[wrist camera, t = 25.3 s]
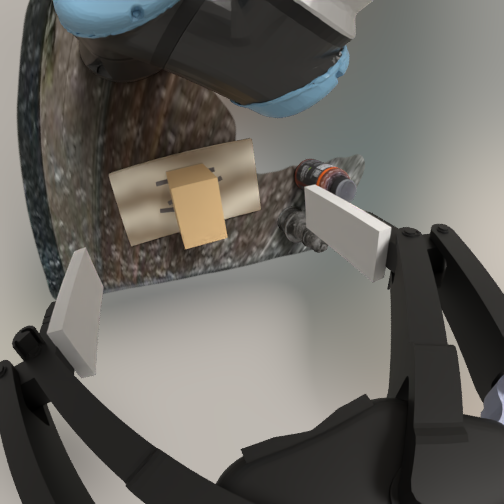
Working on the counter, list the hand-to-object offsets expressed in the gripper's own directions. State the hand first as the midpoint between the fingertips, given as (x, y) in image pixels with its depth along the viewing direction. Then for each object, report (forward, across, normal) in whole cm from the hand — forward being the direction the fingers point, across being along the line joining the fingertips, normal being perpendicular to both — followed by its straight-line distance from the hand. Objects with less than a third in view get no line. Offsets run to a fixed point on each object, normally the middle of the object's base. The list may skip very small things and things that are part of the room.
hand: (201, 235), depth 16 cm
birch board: (+29, +2, -6) cm, 29 cm away
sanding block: (+28, +2, -6) cm, 28 cm away
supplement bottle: (+29, +23, -8) cm, 38 cm away
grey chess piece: (+29, +19, -16) cm, 38 cm away
